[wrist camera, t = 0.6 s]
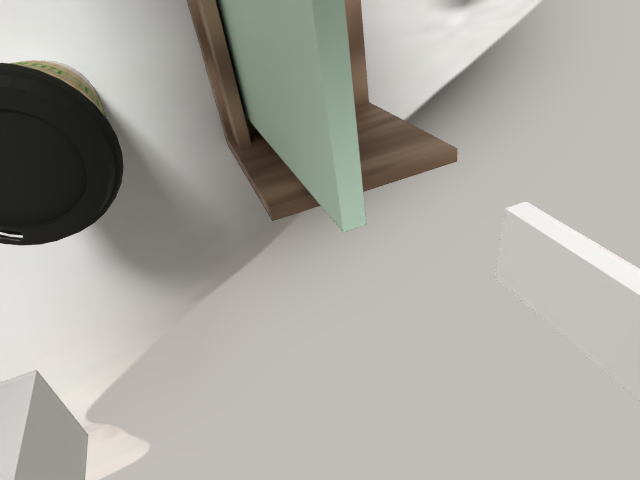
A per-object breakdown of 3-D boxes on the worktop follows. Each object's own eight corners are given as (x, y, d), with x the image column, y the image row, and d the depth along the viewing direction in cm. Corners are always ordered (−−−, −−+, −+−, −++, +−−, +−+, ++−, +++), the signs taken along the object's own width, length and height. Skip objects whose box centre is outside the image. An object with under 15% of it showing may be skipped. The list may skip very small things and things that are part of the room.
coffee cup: (137, 65, 34) (142, 112, 22) (109, 176, 38) (101, 268, 26) (-15, 8, 29) (-112, 31, 17) (-31, 142, 33) (-122, 237, 21)
